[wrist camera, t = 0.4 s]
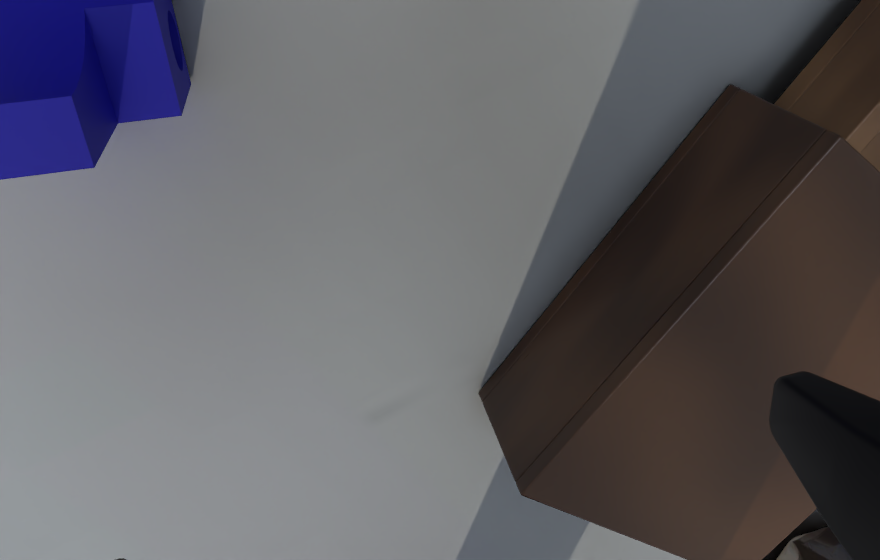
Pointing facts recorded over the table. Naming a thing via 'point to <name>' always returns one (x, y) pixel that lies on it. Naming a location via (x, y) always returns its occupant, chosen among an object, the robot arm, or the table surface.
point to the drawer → (844, 83)
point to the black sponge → (815, 547)
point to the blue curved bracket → (83, 78)
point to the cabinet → (701, 338)
